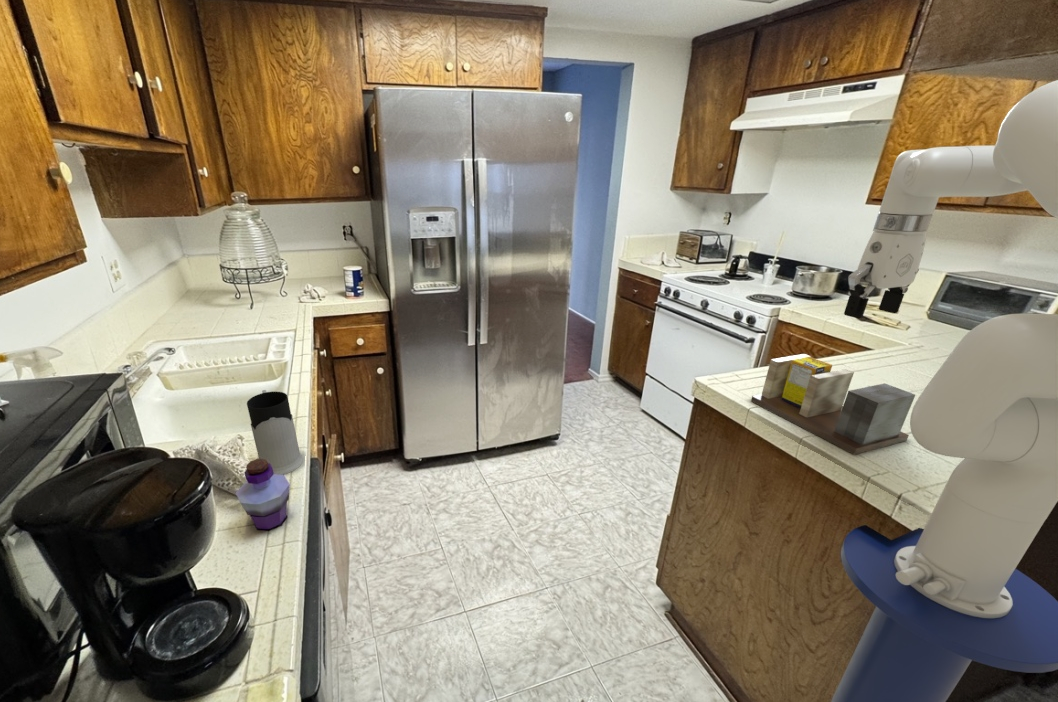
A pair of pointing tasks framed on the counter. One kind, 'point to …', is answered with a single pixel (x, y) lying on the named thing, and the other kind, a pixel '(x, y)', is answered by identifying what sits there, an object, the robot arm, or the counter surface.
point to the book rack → (839, 408)
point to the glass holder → (274, 431)
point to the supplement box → (802, 378)
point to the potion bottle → (264, 495)
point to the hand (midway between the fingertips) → (870, 314)
